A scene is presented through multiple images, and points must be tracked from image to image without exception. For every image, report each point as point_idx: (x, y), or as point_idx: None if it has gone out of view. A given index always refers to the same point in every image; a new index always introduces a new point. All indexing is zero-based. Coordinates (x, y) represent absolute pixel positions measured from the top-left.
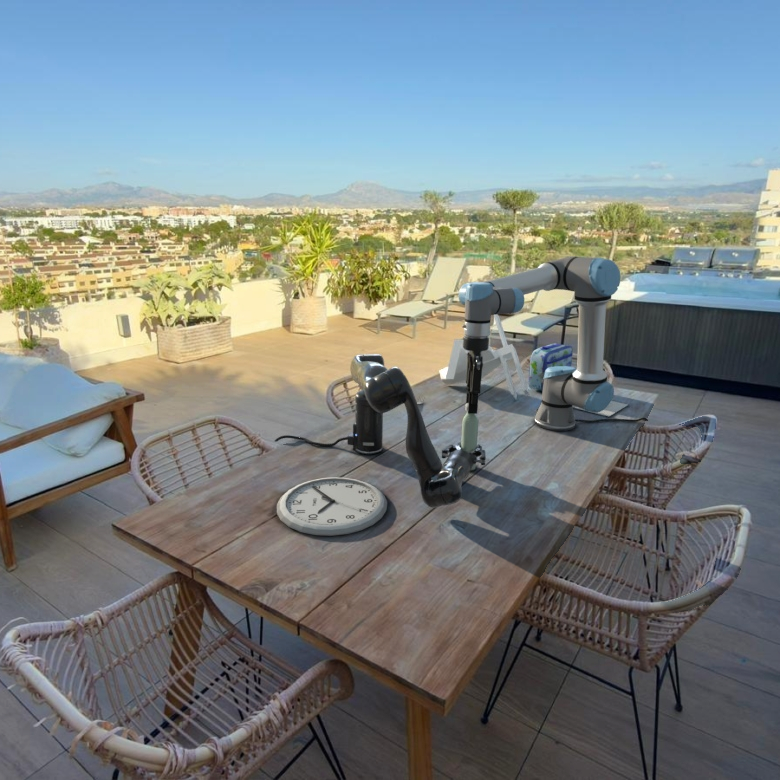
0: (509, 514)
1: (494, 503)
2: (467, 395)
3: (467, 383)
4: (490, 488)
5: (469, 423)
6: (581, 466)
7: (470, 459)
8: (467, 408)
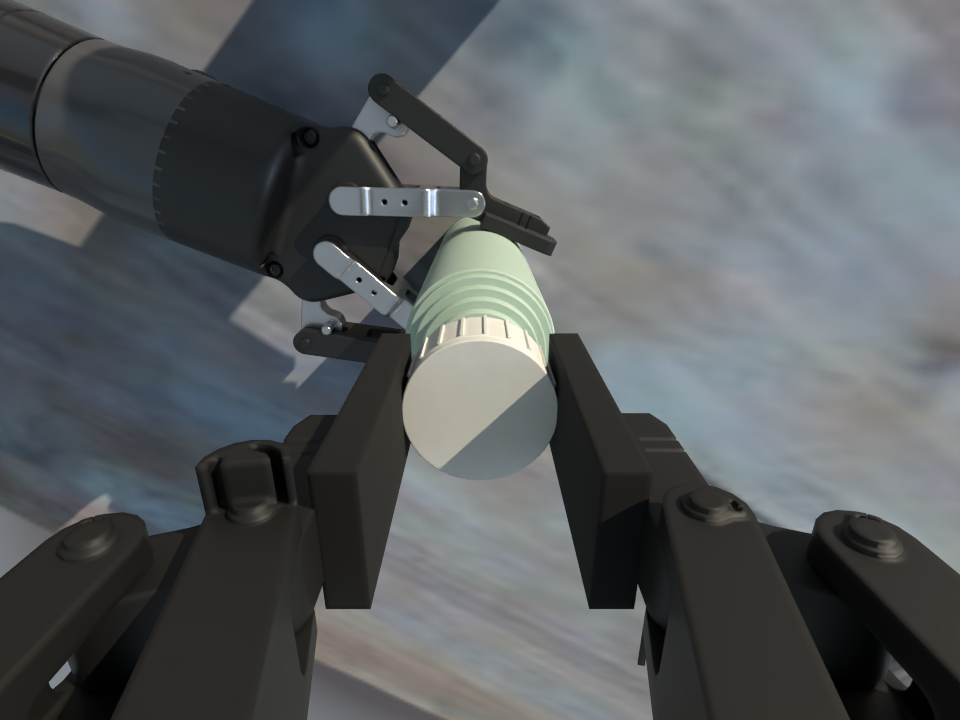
0: (51, 359)
1: (127, 318)
2: (579, 415)
3: (717, 542)
4: (264, 326)
5: (409, 319)
6: (497, 681)
7: (216, 255)
8: (430, 344)
